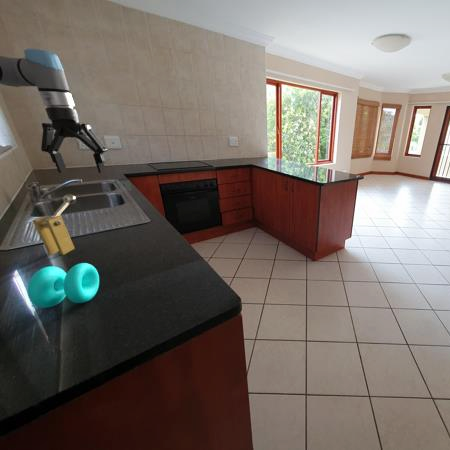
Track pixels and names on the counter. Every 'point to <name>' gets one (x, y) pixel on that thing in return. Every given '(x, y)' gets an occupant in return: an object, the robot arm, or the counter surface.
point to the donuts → (63, 285)
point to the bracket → (54, 235)
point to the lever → (61, 208)
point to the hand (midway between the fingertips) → (83, 172)
